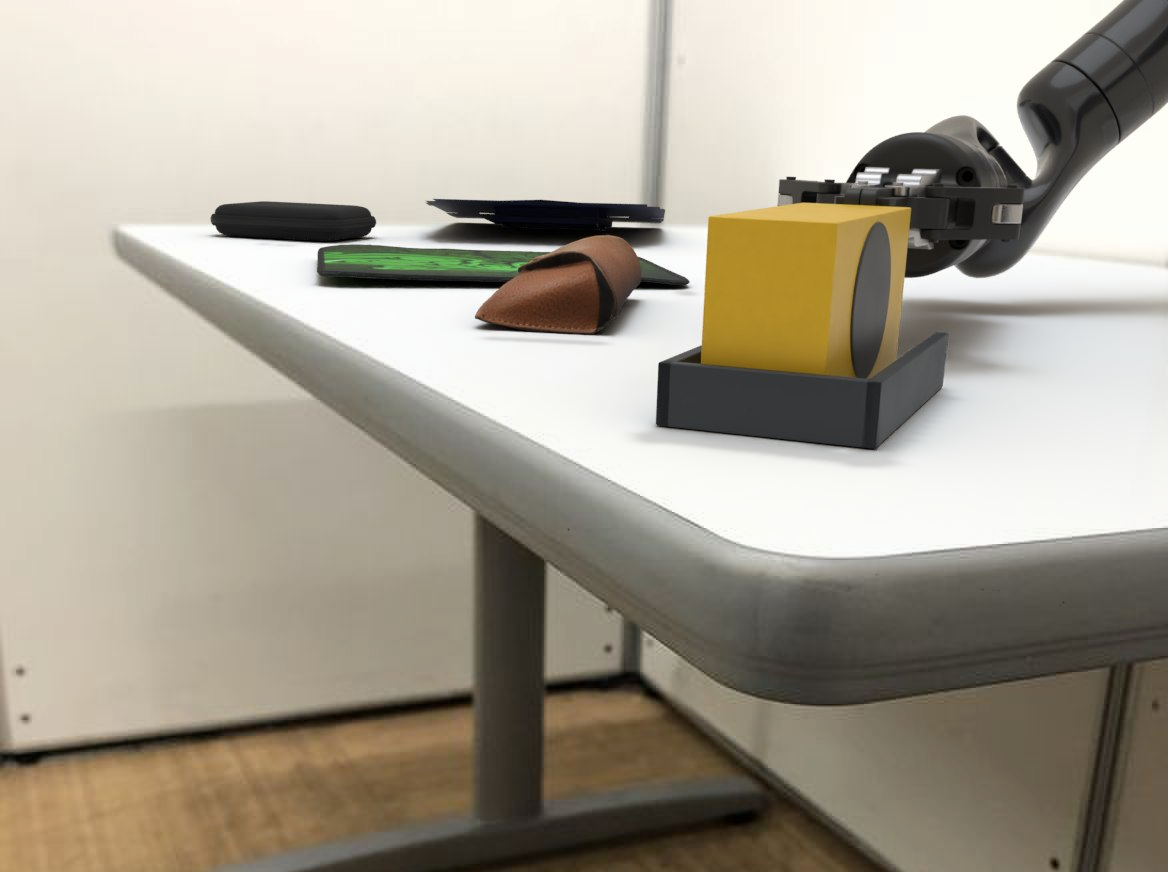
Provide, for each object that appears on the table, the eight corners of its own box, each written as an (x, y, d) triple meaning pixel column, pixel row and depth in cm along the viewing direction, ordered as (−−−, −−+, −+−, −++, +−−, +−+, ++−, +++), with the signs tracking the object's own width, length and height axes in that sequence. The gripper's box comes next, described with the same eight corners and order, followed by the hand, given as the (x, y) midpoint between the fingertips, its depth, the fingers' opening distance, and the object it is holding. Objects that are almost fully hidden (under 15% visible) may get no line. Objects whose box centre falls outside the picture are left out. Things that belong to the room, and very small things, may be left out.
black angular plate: (412, 227, 135) (412, 188, 134) (453, 242, 164) (454, 209, 164) (665, 234, 134) (667, 195, 133) (662, 247, 163) (663, 215, 163)
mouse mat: (635, 258, 123) (635, 246, 122) (698, 287, 102) (699, 272, 102) (317, 255, 118) (316, 243, 118) (317, 285, 98) (316, 270, 97)
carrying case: (389, 236, 141) (263, 229, 146) (388, 205, 140) (261, 199, 145) (335, 243, 132) (202, 236, 137) (334, 210, 131) (200, 203, 136)
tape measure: (787, 376, 67) (800, 202, 65) (896, 386, 65) (913, 207, 63) (694, 424, 56) (705, 216, 53) (822, 438, 54) (840, 222, 51)
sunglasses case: (517, 285, 97) (568, 200, 94) (603, 341, 97) (656, 258, 95) (468, 319, 80) (530, 217, 77) (573, 388, 80) (637, 287, 78)
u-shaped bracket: (761, 370, 69) (765, 318, 68) (942, 386, 65) (948, 332, 65) (655, 425, 55) (657, 362, 55) (875, 449, 52) (881, 382, 51)
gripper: (1040, 279, 78) (998, 308, 62) (805, 265, 82) (713, 289, 67) (1058, 136, 75) (1019, 130, 60) (815, 130, 80) (723, 123, 65)
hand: (857, 214), depth 64 cm, fingers closed
